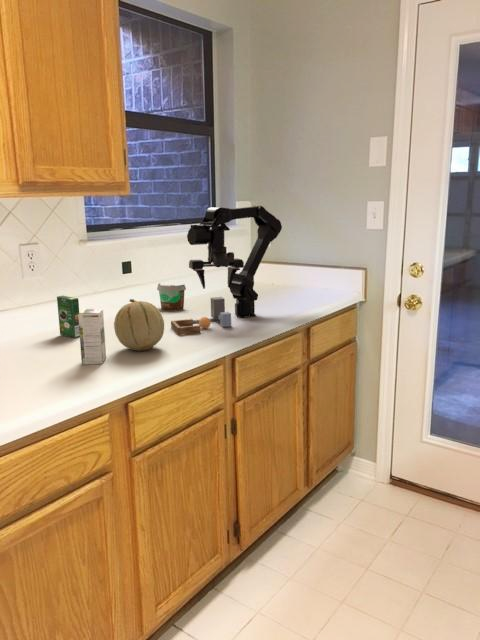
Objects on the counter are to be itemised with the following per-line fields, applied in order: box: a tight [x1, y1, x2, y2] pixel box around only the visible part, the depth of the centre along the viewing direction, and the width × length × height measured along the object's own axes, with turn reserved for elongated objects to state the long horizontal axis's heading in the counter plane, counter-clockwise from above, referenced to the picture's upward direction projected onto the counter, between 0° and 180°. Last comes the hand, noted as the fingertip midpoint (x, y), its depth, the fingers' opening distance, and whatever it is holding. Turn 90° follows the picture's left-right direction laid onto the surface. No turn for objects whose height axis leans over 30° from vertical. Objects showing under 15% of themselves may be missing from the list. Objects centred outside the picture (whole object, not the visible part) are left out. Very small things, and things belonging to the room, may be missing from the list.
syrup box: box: [78, 307, 107, 366], centre depth 146 cm, size 6×6×14 cm
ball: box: [198, 316, 212, 330], centre depth 182 cm, size 4×4×4 cm
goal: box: [170, 318, 202, 336], centre depth 180 cm, size 8×11×2 cm
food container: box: [156, 282, 187, 312], centre depth 213 cm, size 12×6×10 cm, turn 68°
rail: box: [193, 317, 220, 325], centre depth 191 cm, size 15×1×1 cm, turn 109°
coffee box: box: [56, 295, 80, 339], centre depth 174 cm, size 8×3×13 cm, turn 54°
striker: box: [210, 296, 232, 328], centre depth 188 cm, size 4×12×8 cm, turn 19°
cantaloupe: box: [113, 298, 165, 352], centre depth 157 cm, size 15×15×15 cm
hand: (216, 288), depth 190 cm, fingers open, 9 cm apart
